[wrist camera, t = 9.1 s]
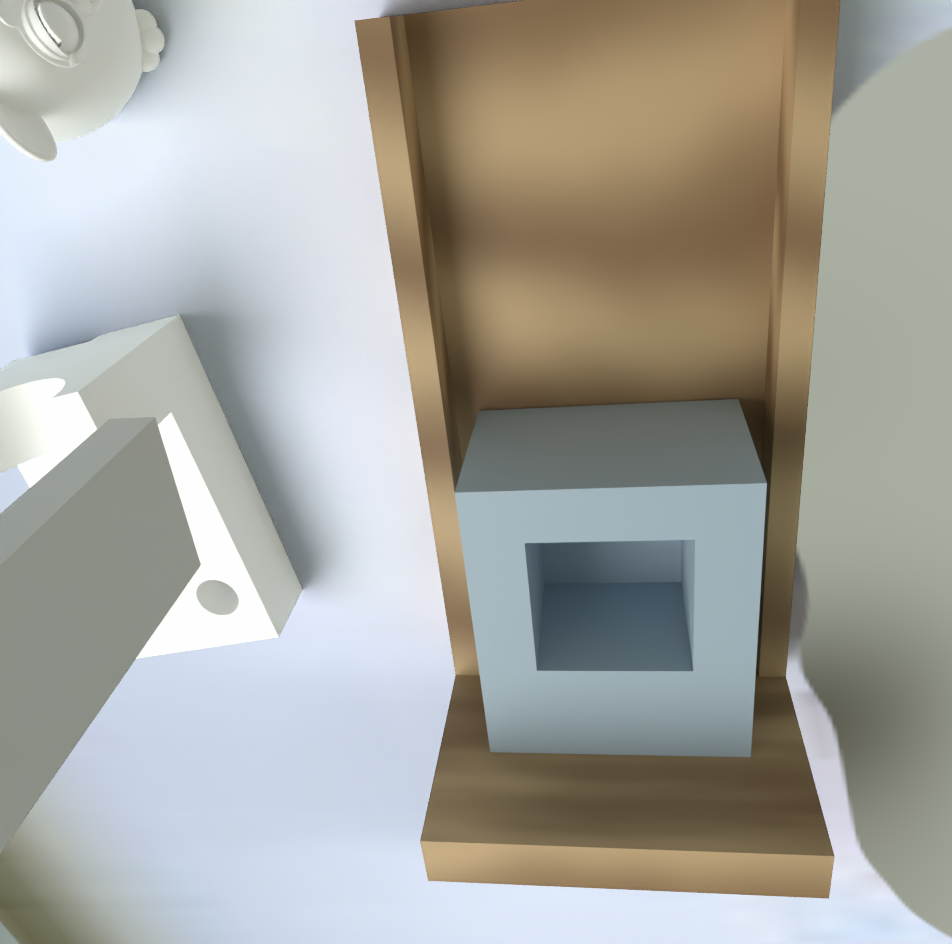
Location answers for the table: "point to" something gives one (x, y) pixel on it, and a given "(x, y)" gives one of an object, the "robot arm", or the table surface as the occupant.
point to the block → (615, 577)
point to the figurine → (69, 67)
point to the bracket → (192, 463)
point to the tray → (612, 364)
